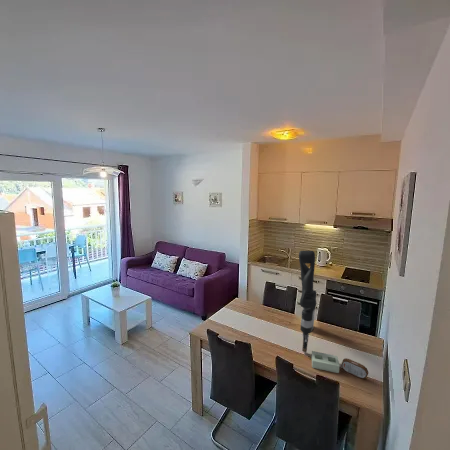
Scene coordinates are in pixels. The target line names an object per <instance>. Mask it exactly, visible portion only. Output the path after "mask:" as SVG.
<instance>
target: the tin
mask: <svg viewBox="0 0 450 450" xmlns="http://www.w3.org/2000/svg"><path fill="white" fill-rule="evenodd" d="M341 367H342V369H343V370H344V371H345V372H346V373H348V374H350V375H352V376H355V377H357V378H359V379H362V380H363V379H364V380H365V379H366V378H368V376H369V369H368V368H367V367H366V366H365V365H364V364H361V363H359V362H357V361H355V360H353V359H350V358H348V357H347V358H343V359H342V361H341Z"/></svg>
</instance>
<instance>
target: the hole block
mask: <svg viewBox="0 0 450 450" xmlns="http://www.w3.org/2000/svg"><path fill="white" fill-rule="evenodd" d="M311 367H312V369H317V370H321V371H322V370H323V371H327V372H331V373H336V374H339V373H340V361H339V356H338V355H334V354H330V353H324V352H318V351H313V350H312V351H311Z"/></svg>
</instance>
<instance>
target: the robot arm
mask: <svg viewBox="0 0 450 450" xmlns="http://www.w3.org/2000/svg"><path fill="white" fill-rule="evenodd" d="M298 260H299V266H300V267H299V268H300V279H301V280H300V281H301V296H300V300H299V305H300V307H302V310H301V318H300V329H299V330H300V331H301V332H302V348H304V349H307V350H308V342H309V337H310V335H309V334H312V331H313V330H314V324H315V311H316V306H317V291H316V290H314V281H315V279H314V277H315V276H314V274H315V266H316V265H315V264H316V253H315V251H314V250H300V251H299V252H298ZM308 264H310V265H309V267H308ZM303 341H304V342H303Z"/></svg>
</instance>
